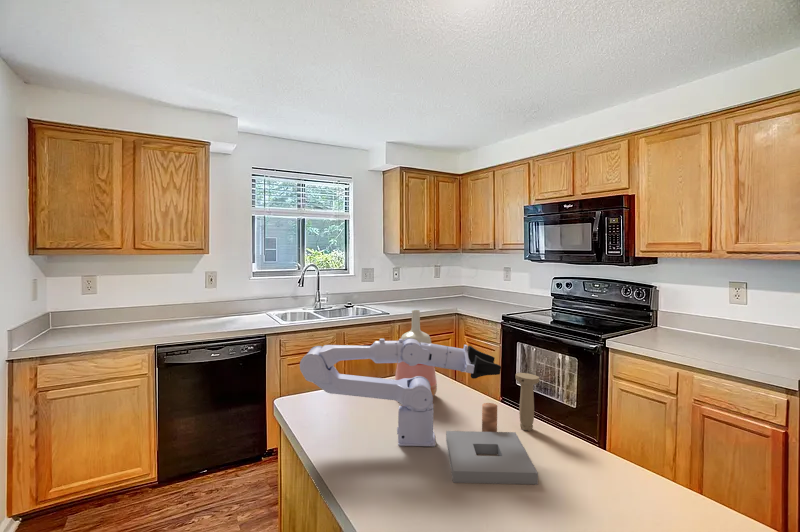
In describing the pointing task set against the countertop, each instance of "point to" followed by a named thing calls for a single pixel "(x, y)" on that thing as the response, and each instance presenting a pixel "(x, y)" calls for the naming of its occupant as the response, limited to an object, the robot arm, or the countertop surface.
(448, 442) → the socket plate
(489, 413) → the peg
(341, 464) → the countertop surface
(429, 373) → the vase
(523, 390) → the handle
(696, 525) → the countertop surface
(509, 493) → the countertop surface
